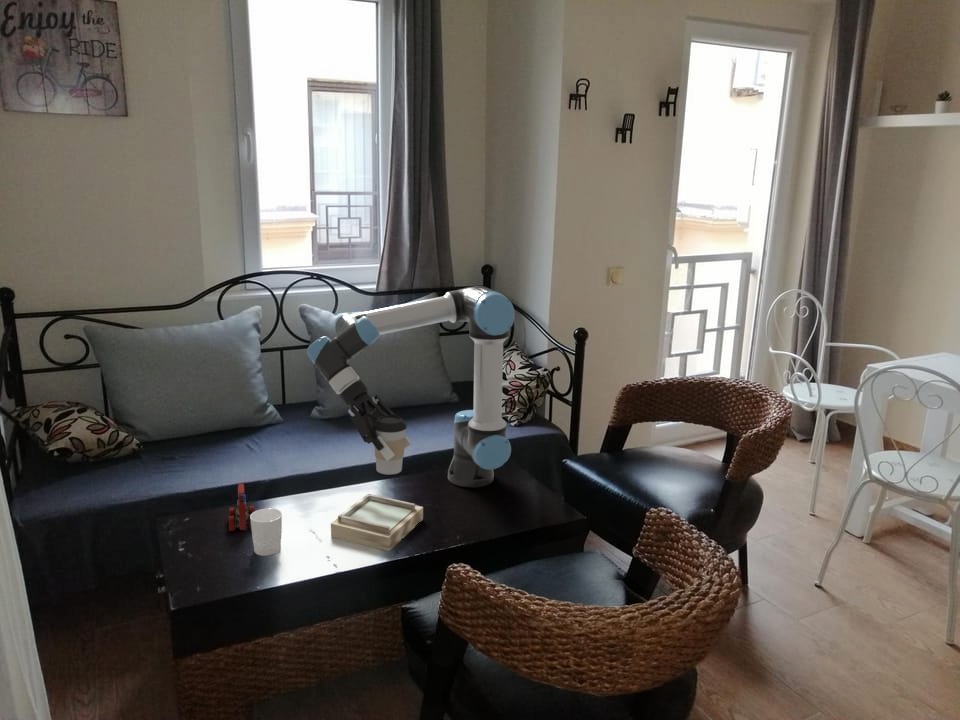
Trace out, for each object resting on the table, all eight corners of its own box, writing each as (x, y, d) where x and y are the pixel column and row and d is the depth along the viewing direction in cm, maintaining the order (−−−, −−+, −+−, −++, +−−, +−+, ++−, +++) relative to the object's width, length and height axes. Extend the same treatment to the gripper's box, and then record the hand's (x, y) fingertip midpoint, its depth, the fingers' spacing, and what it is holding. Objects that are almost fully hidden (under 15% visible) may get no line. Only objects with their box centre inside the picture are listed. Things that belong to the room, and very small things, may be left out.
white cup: (245, 553, 187) (243, 518, 185) (264, 539, 194) (262, 506, 192) (271, 559, 185) (269, 524, 182) (289, 545, 192) (287, 511, 189)
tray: (368, 507, 215) (368, 490, 214) (422, 519, 209) (423, 502, 207) (331, 536, 197) (330, 518, 196) (388, 551, 191) (388, 532, 189)
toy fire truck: (229, 537, 195) (226, 501, 193) (229, 516, 207) (227, 483, 204) (255, 534, 198) (254, 499, 195) (254, 513, 209) (253, 480, 206)
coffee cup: (399, 478, 193) (401, 425, 190) (367, 473, 195) (368, 421, 191) (409, 465, 202) (410, 414, 198) (378, 461, 203) (379, 411, 200)
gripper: (361, 385, 209) (409, 446, 207) (318, 405, 189) (370, 473, 188) (377, 370, 206) (426, 432, 204) (335, 389, 186) (389, 458, 184)
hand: (399, 452), depth 196 cm, fingers closed on coffee cup, 9 cm apart
